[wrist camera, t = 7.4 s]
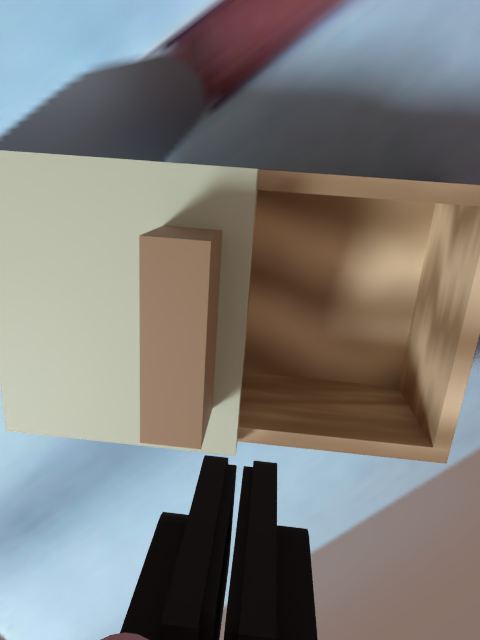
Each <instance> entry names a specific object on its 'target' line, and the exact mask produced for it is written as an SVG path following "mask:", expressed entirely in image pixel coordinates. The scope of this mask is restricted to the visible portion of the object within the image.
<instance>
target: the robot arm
mask: <svg viewBox="0 0 480 640" xmlns="http://www.w3.org/2000/svg"><path fill="white" fill-rule="evenodd" d="M235 480H236V465H228V458H224V457H215V456H206V455H205V456H204V459H203V463H202V467H201V471H200V475H199V479H198V482H197V486H196V490H195V494H194V498H193V502H192V505H191V509H190V513H189V515H184V514H175V513H167V512H163V513H162V514H161V516H160V519H159V521H158V524H157V527H156V530H155V533H154V536H153V539H152V542H151V545H150V547H149V550H148V553H147V556H146V559H145V562H144V565H143V568H142V571H141V574H140V577H139V579H138V582H137V585H136V588H135V591H134V594H133V597H132V600H131V603H130V606H129V609H128V611H127V614H126V617H125V620H124V623H123V626H122V629H121V632H120V633H119V634H114V635H110V636H108V637H106V638H103V639H101V640H219V638H220V630H221V622H222V614H223V607H224V599H225V591H226V583H227V575H228V567H229V557H230V544H231V531H232V518H233V506H234V493H235ZM224 640H317V629H316V617H315V604H314V592H313V580H312V568H311V556H310V544H309V534H308V530H307V529H303V528H294V527H286V526H277V463H270V462H261V461H254V463H253V467H246V466H244V469H243V478H242V486H241V495H240V503H239V512H238V520H237V529H236V537H235V546H234V554H233V562H232V571H231V579H230V588H229V596H228V605H227V613H226V623H225V632H224Z"/></svg>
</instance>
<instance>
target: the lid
mask: <svg viewBox="0 0 480 640" xmlns="http://www.w3.org/2000/svg"><path fill="white" fill-rule="evenodd" d="M257 182H258V169H253V168H239V167H225V166H211V165H197V164H183V163H169V162H155V161H141V160H127V159H113V158H99V157H85V156H84V157H83V156H71V155H57V154H42V153H29V152H16V151H1V150H0V384H1V393H2V402H3V411H4V420H5V429H6V431H11V432H20V433H30V434H39V435H48V436H57V437H66V438H76V439H85V440H94V441H103V442H113V443H122V444H131V445H140V446H150V447H159V448H168V449H177V450H187V451H196V452H205V453H214V454H224V455H233V456H235V455H236V448H237V440H238V427H239V414H240V401H241V388H242V375H243V362H244V349H245V336H246V324H247V311H248V298H249V285H250V272H251V259H252V246H253V233H254V220H255V207H256V195H257Z"/></svg>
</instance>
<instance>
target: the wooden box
mask: <svg viewBox="0 0 480 640" xmlns="http://www.w3.org/2000/svg"><path fill="white" fill-rule="evenodd" d="M479 335H480V185H470V184H456V183H442V182H428V181H414V180H400V179H386V178H373V177H359V176H345V175H331V174H317V173H303V172H289V171H275V170H261V169H258V182H257V195H256V207H255V220H254V233H253V246H252V259H251V272H250V285H249V298H248V311H247V324H246V336H245V349H244V362H243V375H242V388H241V401H240V414H239V427H238V440H237V441H240V442H249V443H259V444H268V445H277V446H287V447H296V448H306V449H315V450H324V451H334V452H343V453H353V454H362V455H371V456H381V457H390V458H400V459H409V460H418V461H428V462H437V463H447V460H448V456H449V452H450V448H451V444H452V440H453V436H454V433H455V429H456V425H457V421H458V417H459V413H460V409H461V405H462V401H463V397H464V393H465V390H466V386H467V382H468V378H469V374H470V370H471V366H472V362H473V358H474V354H475V350H476V346H477V343H478V339H479Z"/></svg>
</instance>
